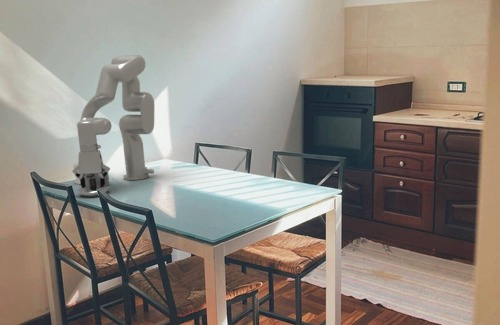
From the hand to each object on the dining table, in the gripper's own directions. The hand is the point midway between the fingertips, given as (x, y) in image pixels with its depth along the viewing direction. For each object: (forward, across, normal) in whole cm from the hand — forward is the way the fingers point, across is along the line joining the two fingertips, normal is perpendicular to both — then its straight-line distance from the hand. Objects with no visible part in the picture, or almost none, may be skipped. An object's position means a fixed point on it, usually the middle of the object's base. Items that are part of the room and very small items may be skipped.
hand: (93, 186), depth 241 cm
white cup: (+4, +12, -24) cm, 27 cm away
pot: (+3, +4, -17) cm, 18 cm away
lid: (+4, 0, 0) cm, 4 cm away
